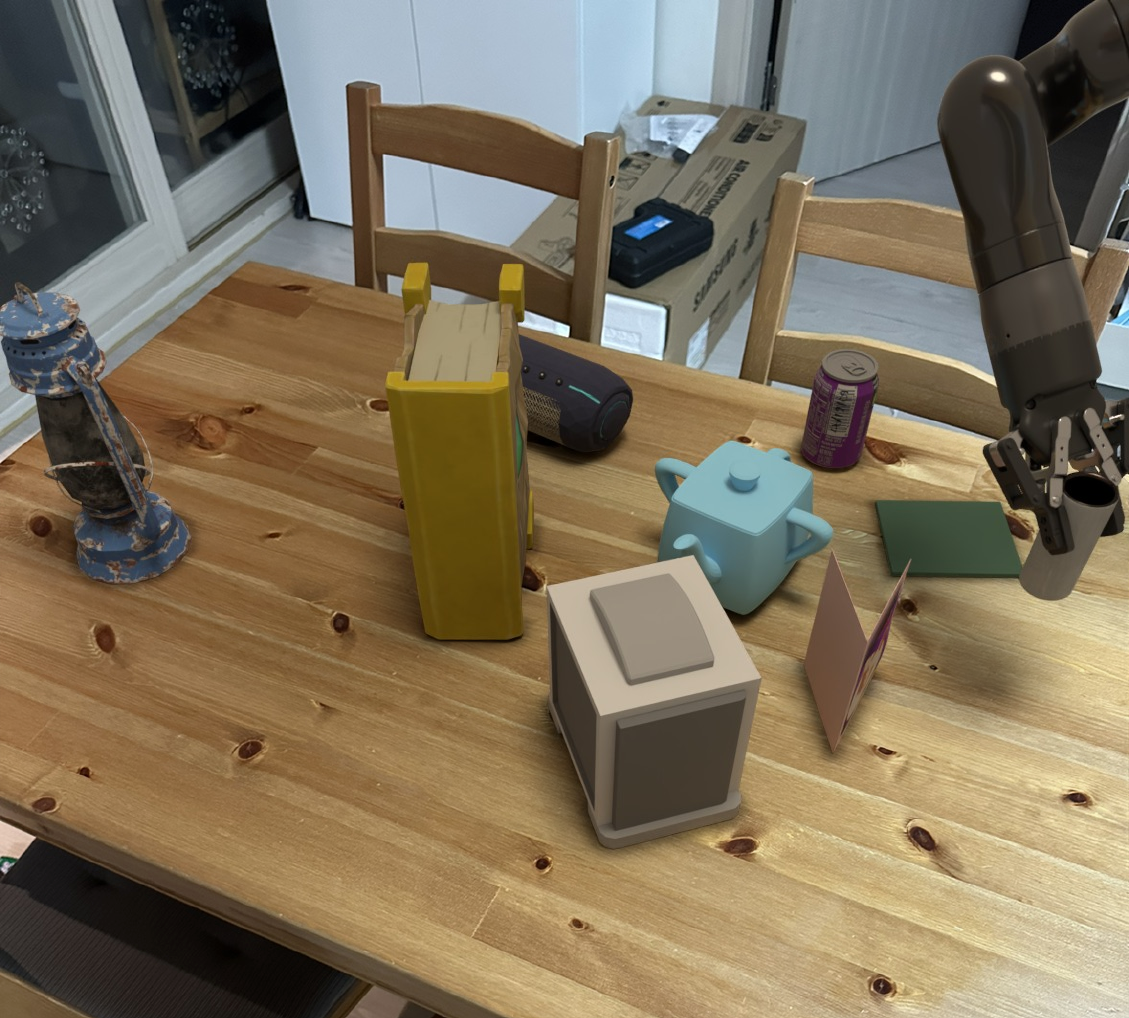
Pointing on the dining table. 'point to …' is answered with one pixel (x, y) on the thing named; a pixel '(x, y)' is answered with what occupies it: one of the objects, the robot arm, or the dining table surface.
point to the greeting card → (843, 651)
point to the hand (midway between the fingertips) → (1087, 542)
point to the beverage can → (840, 408)
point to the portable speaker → (572, 397)
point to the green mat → (947, 539)
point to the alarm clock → (650, 698)
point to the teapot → (740, 520)
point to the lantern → (89, 442)
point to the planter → (1087, 515)
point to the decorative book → (464, 456)
